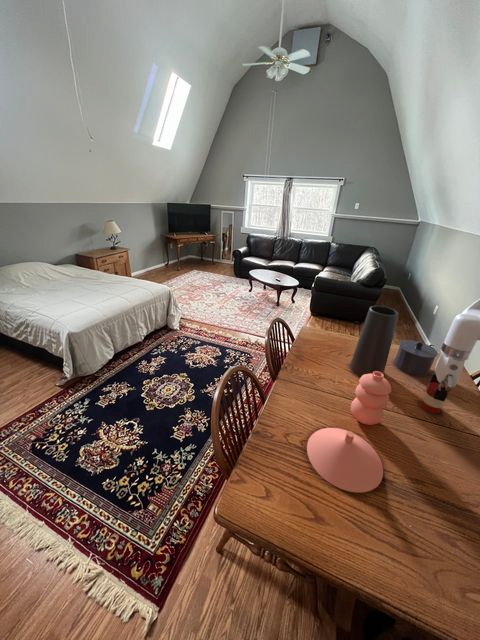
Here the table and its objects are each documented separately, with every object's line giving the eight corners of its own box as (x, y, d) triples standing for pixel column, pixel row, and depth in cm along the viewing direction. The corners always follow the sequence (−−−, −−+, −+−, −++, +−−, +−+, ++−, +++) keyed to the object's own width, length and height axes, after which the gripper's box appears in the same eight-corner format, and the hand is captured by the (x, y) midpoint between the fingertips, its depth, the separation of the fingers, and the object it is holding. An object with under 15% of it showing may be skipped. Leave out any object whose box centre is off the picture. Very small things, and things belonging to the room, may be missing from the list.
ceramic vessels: (370, 510, 65) (393, 457, 57) (294, 459, 77) (303, 409, 69) (400, 426, 90) (419, 381, 82) (339, 397, 102) (350, 355, 94)
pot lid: (428, 344, 124) (431, 336, 122) (442, 361, 111) (446, 353, 109) (394, 340, 126) (397, 332, 125) (404, 356, 114) (407, 347, 112)
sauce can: (435, 402, 101) (444, 383, 97) (443, 414, 96) (453, 395, 92) (417, 399, 102) (425, 380, 98) (424, 411, 97) (432, 391, 93)
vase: (344, 369, 119) (359, 308, 106) (358, 358, 127) (374, 301, 115) (375, 384, 110) (395, 320, 97) (388, 371, 118) (408, 311, 106)
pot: (421, 361, 127) (428, 343, 123) (433, 378, 115) (441, 359, 111) (390, 356, 130) (396, 339, 126) (399, 373, 118) (406, 354, 114)
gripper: (476, 367, 80) (453, 410, 87) (463, 342, 94) (444, 381, 101) (446, 359, 83) (427, 402, 90) (438, 336, 97) (421, 375, 104)
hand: (436, 391), depth 96 cm, fingers open, 9 cm apart
